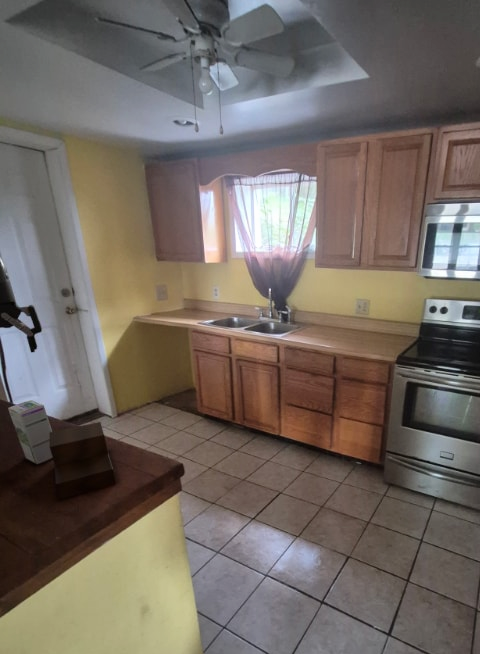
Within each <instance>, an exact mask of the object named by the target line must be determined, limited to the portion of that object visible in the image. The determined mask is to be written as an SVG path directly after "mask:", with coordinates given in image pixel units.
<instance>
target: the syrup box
mask: <svg viewBox="0 0 480 654" xmlns="http://www.w3.org/2000/svg"><path fill="white" fill-rule="evenodd" d="M7 409H8V412H9V415H10V418H11V421H12V424H13V426H14V430H15V433H16V435H17V438H18V440H19V443H20V444H19V445H20V447H21V449H22V452H23V455H24V458H25V459H26V460H28V461H30V462H32V463H34V464H35V465H39V464H42V463H44V462H47V461H49V460H52V459H53V457H52V454H51V450H50V432H53V429H52V427H51V424H50V421H49V417H48V414H47V411H46V407H45V405H44V404H42V403H39V402H37V401H36V400H28V401H24V402H23V401H22V402H21V403H17V404H15V405H12V406H10V407H8V408H7Z"/></svg>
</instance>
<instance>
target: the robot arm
mask: <svg viewBox="0 0 480 654" xmlns="http://www.w3.org/2000/svg"><path fill="white" fill-rule="evenodd" d="M22 313H24V314H25V316H26V317H30V320H31V322H32V325H33V327H32V328H30V327H29V326H28V325H26V323H25V322H23V321H22V320H21V319H19V317H20V316H21V314H22ZM13 327H15V328H16V329H17V330H19V331H21V332H22V333H23V334H25V335H26V341H27V345H28V348H29V350H30V353H35V352H36V350H38V344H37V340H36V337H35V335H38V334H40V333H42V331H43V328H42V327H43V326H42V324H41V321H40V318H39V315H38V313H37V309H36V307H35V305H33V304H29V305H28V306H21V307H20V306H19V305H18V303H17V300H16V297H15V293H14V291H13V286H12V283H11V280H10V276H9V273H8V270H7V267H6V264H5V262H4V260H3V257H2V253H1V252H0V329H11V328H13Z"/></svg>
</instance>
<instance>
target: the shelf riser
mask: <svg viewBox="0 0 480 654" xmlns="http://www.w3.org/2000/svg"><path fill="white" fill-rule="evenodd" d="M50 450H51V454H52V457H53V458H52V461H53V464H54V473H55V487H56V490H57V493H58V496H59V499H60V500H64V499H67V498H70V497H73V496H77V495H82V494H84V493H87V492H91V491H94V490H98V489H102V488H105V487H109V486H112V485H115V484H117V482H116V477H115V473H114V472H115V471H114V469H113V465H112V461H111V458H110V454H109V450H108V446H107V441H106V438H105V433H104V429H103V426H102V422H101V421H97V422H93V423H88V424H83V425H78V426H74V427H69V428H64V429H58V430H54V431H52V432H50Z"/></svg>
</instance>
